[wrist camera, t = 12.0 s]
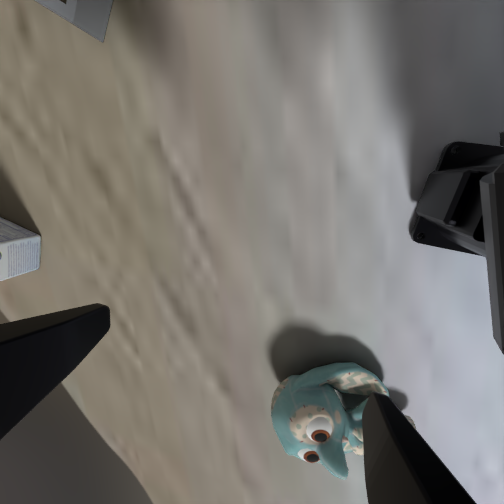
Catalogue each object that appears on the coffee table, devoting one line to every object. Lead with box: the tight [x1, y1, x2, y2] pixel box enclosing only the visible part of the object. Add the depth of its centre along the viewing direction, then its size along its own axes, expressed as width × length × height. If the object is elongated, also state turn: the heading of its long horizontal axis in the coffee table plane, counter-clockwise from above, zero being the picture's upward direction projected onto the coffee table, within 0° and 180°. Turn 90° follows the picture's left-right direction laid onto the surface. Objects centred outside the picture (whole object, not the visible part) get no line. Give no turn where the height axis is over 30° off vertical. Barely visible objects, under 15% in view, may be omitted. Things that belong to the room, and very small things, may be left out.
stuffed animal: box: [271, 362, 416, 479], centre depth 20 cm, size 11×7×12 cm
